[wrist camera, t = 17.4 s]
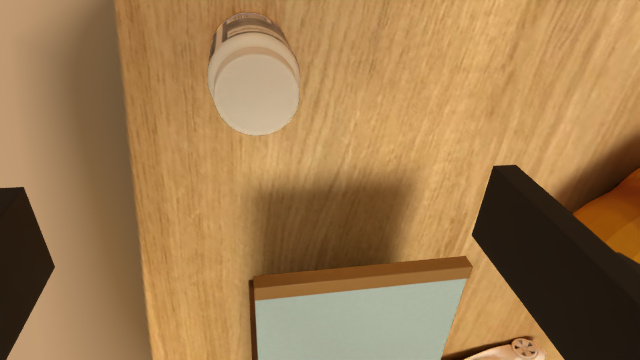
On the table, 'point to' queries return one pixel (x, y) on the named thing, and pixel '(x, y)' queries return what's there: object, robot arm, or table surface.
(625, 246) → the decorative pumpkin
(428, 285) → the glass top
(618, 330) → the robot arm
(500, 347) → the toy car
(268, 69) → the pill bottle
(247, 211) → the table surface
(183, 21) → the table surface
